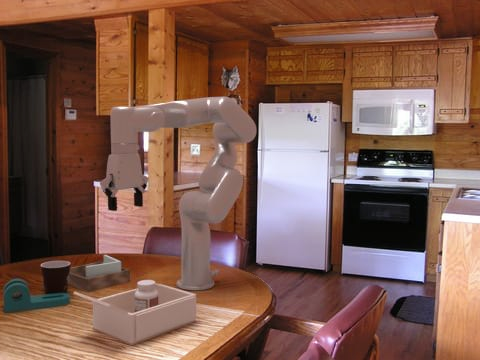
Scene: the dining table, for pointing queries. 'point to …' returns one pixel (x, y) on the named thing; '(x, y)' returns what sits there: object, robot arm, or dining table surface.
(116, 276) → the open square frame
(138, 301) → the pill bottle
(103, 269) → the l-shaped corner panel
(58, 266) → the coffee mug
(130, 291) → the carton
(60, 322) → the dining table surface
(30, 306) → the bracket
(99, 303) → the end flap
